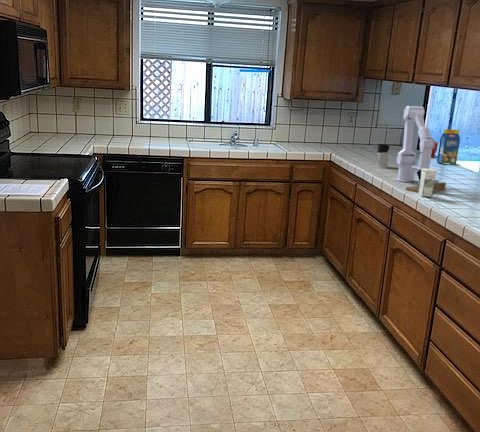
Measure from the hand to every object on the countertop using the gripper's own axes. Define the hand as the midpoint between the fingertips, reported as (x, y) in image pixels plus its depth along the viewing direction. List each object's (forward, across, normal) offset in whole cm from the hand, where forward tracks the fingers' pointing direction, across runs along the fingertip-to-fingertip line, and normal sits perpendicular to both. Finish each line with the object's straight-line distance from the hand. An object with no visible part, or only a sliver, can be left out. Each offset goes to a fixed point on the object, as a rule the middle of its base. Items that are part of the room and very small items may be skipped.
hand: (421, 184), depth 289 cm
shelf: (+2, +3, 0) cm, 4 cm away
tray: (+1, +4, 0) cm, 4 cm away
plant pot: (+3, -70, +112) cm, 132 cm away
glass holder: (+3, -58, +34) cm, 67 cm away
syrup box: (+3, +12, -14) cm, 19 cm away
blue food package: (+3, -44, +96) cm, 106 cm away
